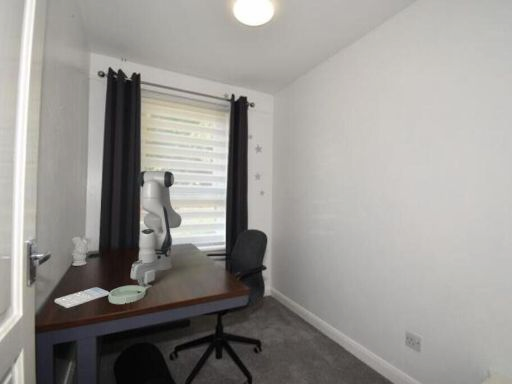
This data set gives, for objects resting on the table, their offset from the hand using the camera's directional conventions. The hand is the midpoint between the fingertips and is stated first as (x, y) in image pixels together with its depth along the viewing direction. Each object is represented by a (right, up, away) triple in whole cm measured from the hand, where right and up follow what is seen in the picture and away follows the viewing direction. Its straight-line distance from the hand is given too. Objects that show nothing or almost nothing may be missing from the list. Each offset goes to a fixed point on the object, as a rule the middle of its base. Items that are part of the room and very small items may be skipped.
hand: (146, 282), depth 143 cm
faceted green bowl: (-4, -3, -14) cm, 14 cm away
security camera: (0, -3, 0) cm, 3 cm away
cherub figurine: (-67, -2, +43) cm, 79 cm away
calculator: (-26, -3, -15) cm, 30 cm away
